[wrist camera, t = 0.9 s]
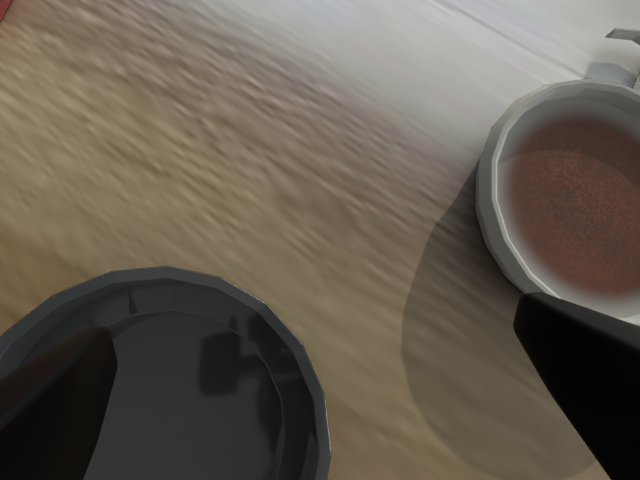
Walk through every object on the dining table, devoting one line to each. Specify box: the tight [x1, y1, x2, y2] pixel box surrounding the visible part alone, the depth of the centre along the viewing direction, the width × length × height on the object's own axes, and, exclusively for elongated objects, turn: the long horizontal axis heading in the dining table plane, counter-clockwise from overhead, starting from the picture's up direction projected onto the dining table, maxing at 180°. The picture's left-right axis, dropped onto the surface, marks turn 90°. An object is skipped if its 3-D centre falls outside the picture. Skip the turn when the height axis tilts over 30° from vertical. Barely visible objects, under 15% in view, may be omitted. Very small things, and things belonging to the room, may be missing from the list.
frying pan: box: [475, 28, 640, 326], centre depth 26 cm, size 17×3×28 cm
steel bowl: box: [0, 266, 331, 480], centre depth 19 cm, size 16×16×4 cm
